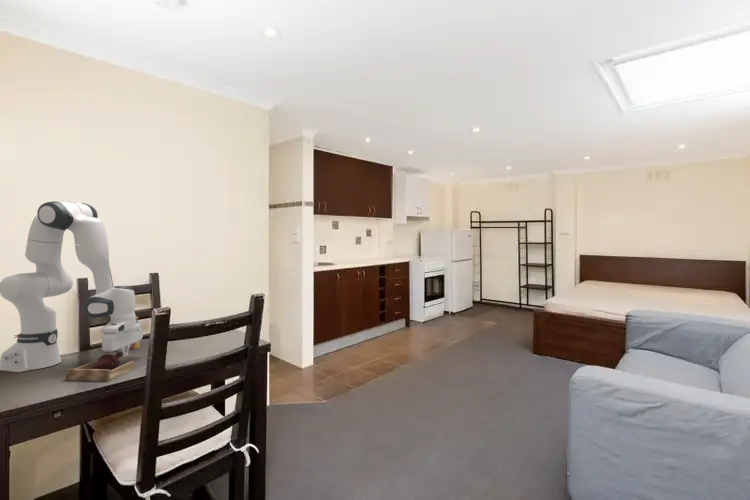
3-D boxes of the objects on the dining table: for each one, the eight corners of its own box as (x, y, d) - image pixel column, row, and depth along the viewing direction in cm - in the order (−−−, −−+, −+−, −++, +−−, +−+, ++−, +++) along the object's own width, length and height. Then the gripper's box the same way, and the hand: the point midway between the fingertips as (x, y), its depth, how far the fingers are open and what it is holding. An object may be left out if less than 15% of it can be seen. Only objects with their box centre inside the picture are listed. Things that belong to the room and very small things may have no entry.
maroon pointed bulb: (103, 361, 144) (131, 353, 159) (86, 356, 145) (114, 348, 160) (98, 379, 144) (126, 369, 159) (80, 373, 145) (110, 364, 159)
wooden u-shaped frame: (65, 380, 142) (65, 369, 142) (95, 367, 156) (95, 357, 156) (108, 381, 141) (108, 370, 141) (134, 368, 155) (133, 358, 155)
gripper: (132, 318, 171) (133, 349, 172) (98, 329, 151) (98, 363, 151) (146, 319, 171) (146, 349, 171) (113, 329, 151) (114, 364, 151)
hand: (124, 356), depth 161 cm, fingers closed
